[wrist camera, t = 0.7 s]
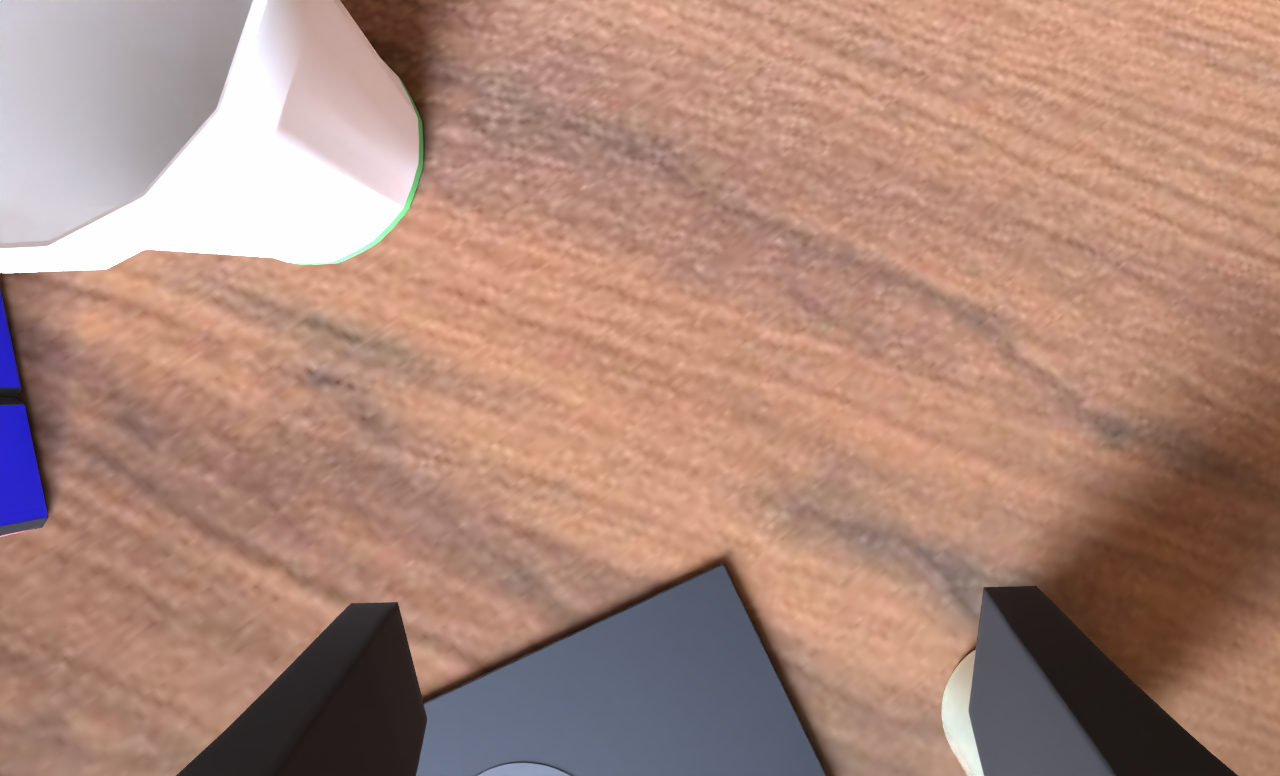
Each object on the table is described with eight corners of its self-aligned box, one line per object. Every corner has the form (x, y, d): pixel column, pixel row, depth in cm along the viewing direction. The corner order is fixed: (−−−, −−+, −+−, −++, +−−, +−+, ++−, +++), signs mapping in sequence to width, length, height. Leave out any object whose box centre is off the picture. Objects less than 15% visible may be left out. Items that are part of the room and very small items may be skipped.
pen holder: (1130, 753, 32) (1314, 921, 22) (983, 815, 32) (1098, 1009, 22) (1058, 609, 32) (1208, 711, 22) (914, 674, 32) (997, 802, 22)
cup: (93, 120, 35) (-396, -83, 20) (350, -85, 34) (46, -467, 19) (279, 387, 34) (-79, 389, 19) (546, 185, 33) (395, 17, 18)
